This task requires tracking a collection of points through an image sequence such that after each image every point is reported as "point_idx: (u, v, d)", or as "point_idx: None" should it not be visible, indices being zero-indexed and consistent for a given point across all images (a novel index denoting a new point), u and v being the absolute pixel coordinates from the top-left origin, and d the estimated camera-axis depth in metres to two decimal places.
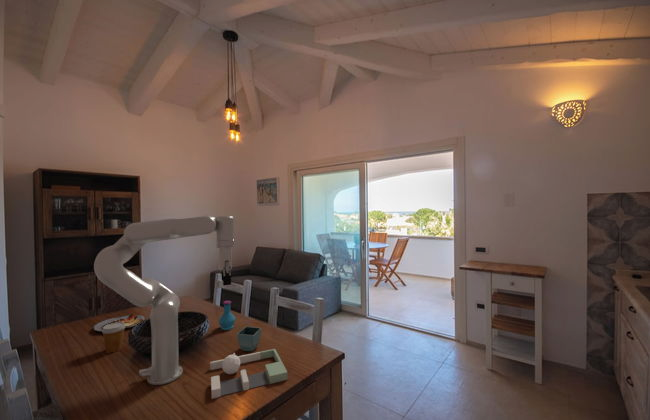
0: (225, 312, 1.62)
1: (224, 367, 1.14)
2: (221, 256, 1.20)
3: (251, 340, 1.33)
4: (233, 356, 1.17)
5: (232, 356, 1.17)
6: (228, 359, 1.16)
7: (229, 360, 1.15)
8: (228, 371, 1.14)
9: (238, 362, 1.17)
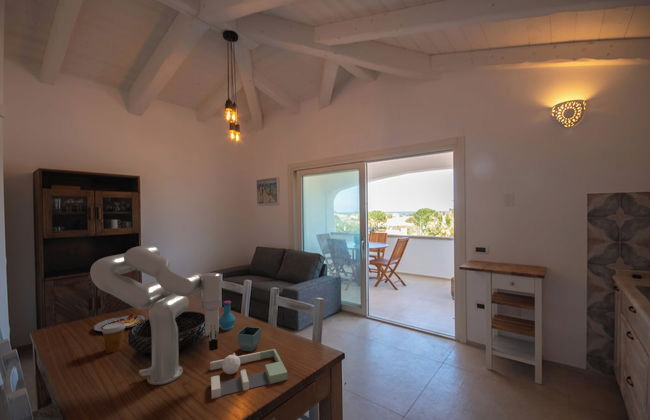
0: (225, 312, 1.62)
1: (224, 367, 1.14)
2: (206, 320, 1.09)
3: (251, 340, 1.33)
4: (233, 356, 1.17)
5: (232, 356, 1.17)
6: (228, 359, 1.16)
7: (229, 360, 1.15)
8: (228, 371, 1.14)
9: (238, 362, 1.17)
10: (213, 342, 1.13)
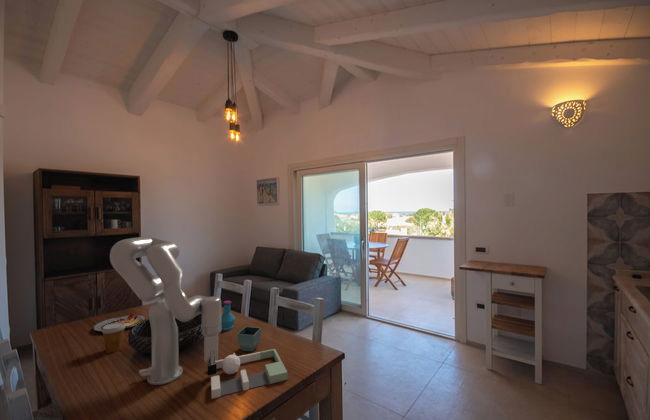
0: (225, 312, 1.62)
1: (224, 367, 1.14)
2: (206, 346, 1.09)
3: (251, 340, 1.33)
4: (233, 356, 1.17)
5: (232, 356, 1.17)
6: (228, 359, 1.16)
7: (229, 360, 1.15)
8: (228, 371, 1.14)
9: (238, 362, 1.17)
10: (212, 367, 1.13)
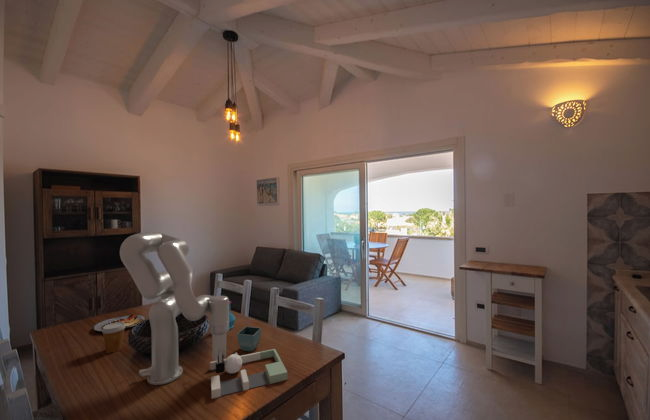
0: None
1: (226, 366, 1.15)
2: (214, 344, 1.11)
3: (251, 340, 1.33)
4: (235, 356, 1.17)
5: (234, 356, 1.17)
6: (230, 358, 1.16)
7: (231, 360, 1.15)
8: (230, 370, 1.14)
9: (240, 362, 1.17)
10: (220, 365, 1.14)
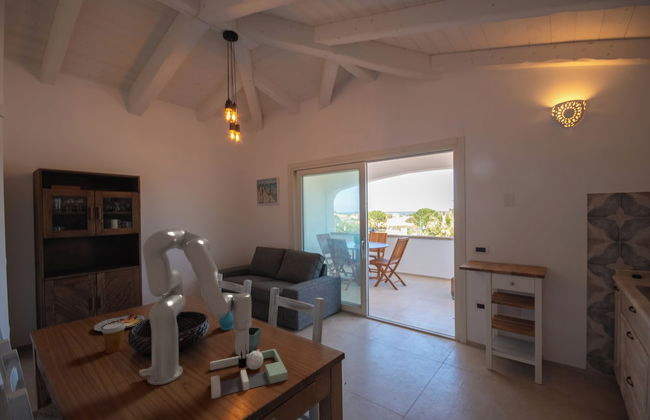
0: None
1: (247, 362, 1.18)
2: (238, 340, 1.14)
3: (251, 340, 1.33)
4: (256, 352, 1.20)
5: (255, 352, 1.20)
6: (251, 355, 1.19)
7: (252, 356, 1.18)
8: (250, 366, 1.17)
9: (260, 359, 1.19)
10: (243, 360, 1.18)
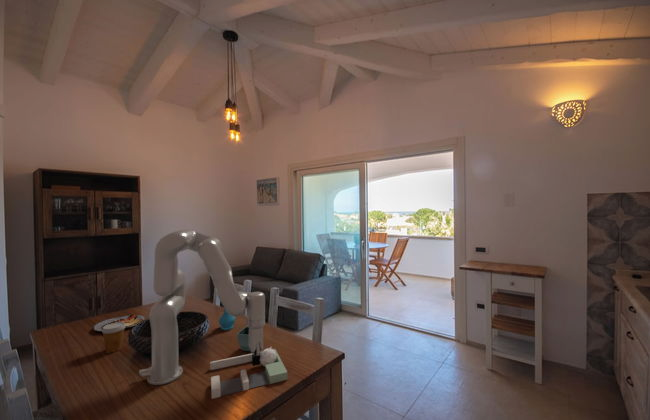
0: (225, 312, 1.62)
1: (261, 359, 1.20)
2: (252, 338, 1.17)
3: None
4: (269, 350, 1.22)
5: (268, 350, 1.22)
6: (265, 352, 1.21)
7: (266, 354, 1.20)
8: (264, 364, 1.19)
9: (274, 356, 1.21)
10: (256, 358, 1.20)
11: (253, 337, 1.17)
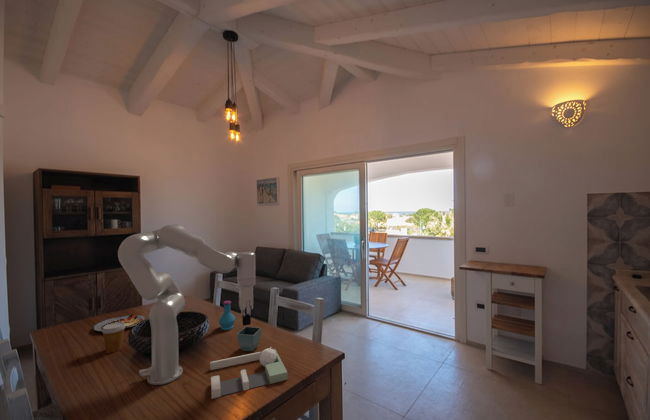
0: (225, 312, 1.62)
1: (261, 359, 1.20)
2: (242, 296, 1.15)
3: (251, 340, 1.33)
4: (269, 350, 1.22)
5: (268, 350, 1.22)
6: (265, 352, 1.21)
7: (266, 354, 1.20)
8: (264, 364, 1.19)
9: (274, 356, 1.21)
10: (247, 317, 1.19)
11: (243, 295, 1.15)
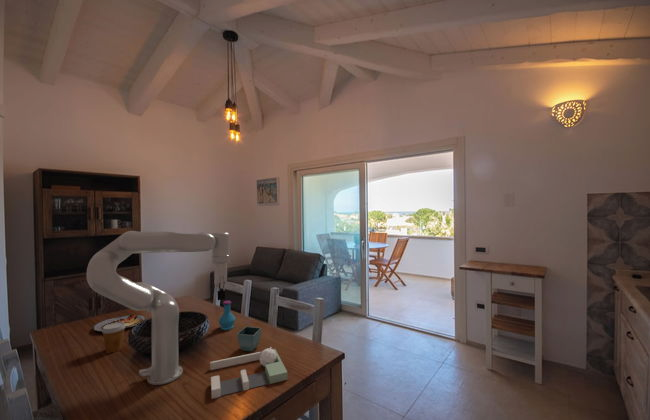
0: (225, 312, 1.62)
1: (261, 359, 1.20)
2: (216, 272, 1.24)
3: (251, 340, 1.33)
4: (269, 350, 1.22)
5: (268, 350, 1.22)
6: (265, 352, 1.21)
7: (266, 354, 1.20)
8: (264, 364, 1.19)
9: (274, 356, 1.21)
10: (221, 292, 1.27)
11: (217, 271, 1.24)
